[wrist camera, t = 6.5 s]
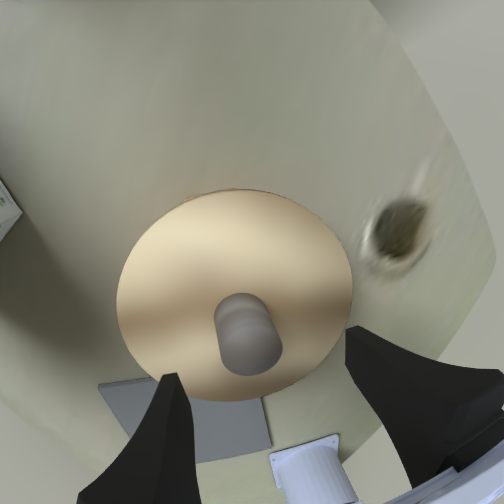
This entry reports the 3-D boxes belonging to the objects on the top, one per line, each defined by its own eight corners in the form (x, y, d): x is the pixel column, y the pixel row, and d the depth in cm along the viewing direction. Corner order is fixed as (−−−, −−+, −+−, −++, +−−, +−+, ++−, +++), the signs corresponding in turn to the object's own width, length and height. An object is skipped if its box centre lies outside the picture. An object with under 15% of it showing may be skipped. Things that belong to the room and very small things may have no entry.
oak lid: (343, 366, 21) (369, 404, 17) (157, 406, 19) (156, 453, 15) (343, 173, 16) (385, 185, 12) (90, 216, 14) (62, 242, 11)
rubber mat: (270, 444, 29) (271, 448, 29) (152, 465, 28) (152, 468, 27) (251, 356, 24) (252, 360, 24) (99, 384, 23) (97, 388, 22)
